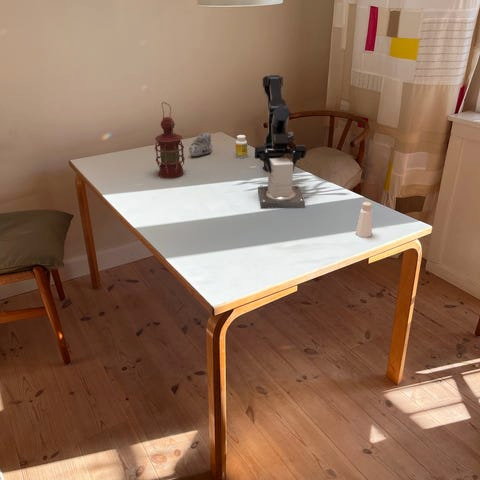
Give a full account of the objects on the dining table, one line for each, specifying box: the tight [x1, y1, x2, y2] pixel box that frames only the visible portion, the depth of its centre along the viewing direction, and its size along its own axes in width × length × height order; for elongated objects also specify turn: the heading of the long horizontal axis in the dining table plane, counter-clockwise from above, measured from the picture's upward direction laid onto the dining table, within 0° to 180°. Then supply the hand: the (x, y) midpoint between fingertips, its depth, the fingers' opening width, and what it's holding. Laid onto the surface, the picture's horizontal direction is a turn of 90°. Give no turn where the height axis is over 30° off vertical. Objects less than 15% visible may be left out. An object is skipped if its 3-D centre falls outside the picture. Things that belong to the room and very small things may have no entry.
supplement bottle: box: [234, 134, 248, 159], centre depth 239 cm, size 5×5×10 cm
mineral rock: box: [188, 132, 213, 157], centre depth 242 cm, size 13×11×10 cm
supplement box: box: [267, 157, 294, 197], centre depth 193 cm, size 7×7×13 cm
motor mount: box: [257, 184, 306, 209], centre depth 196 cm, size 16×16×3 cm
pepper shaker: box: [355, 201, 373, 238], centre depth 168 cm, size 5×5×11 cm
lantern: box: [154, 101, 185, 179], centre depth 214 cm, size 12×12×30 cm
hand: (281, 172), depth 190 cm, fingers closed on supplement box, 8 cm apart
